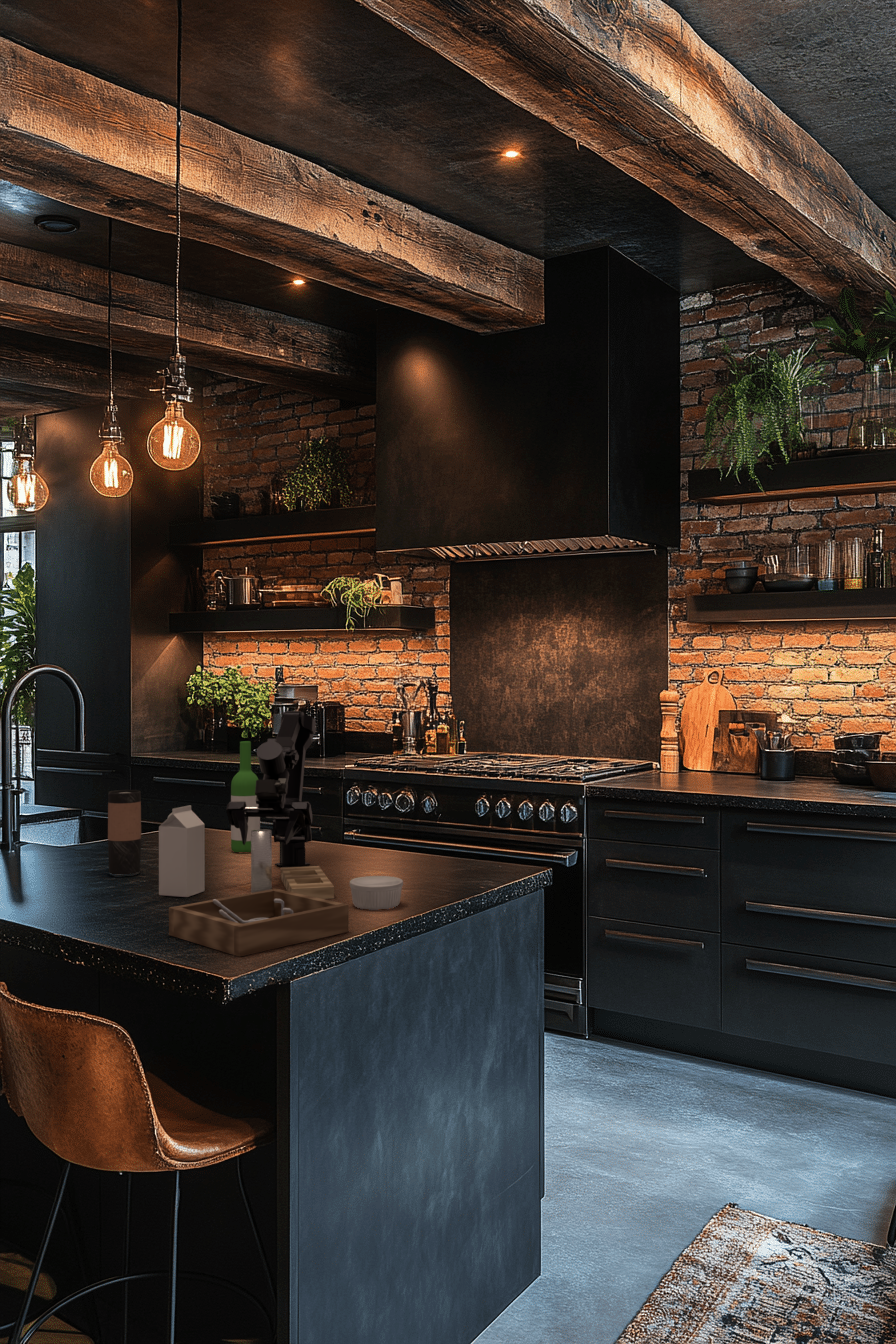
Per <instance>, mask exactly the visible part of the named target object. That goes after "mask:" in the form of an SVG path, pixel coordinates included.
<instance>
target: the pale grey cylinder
mask: <svg viewBox="0 0 896 1344" xmlns="http://www.w3.org/2000/svg"><path fill="white" fill-rule="evenodd" d="M272 833H273V829H264V828H263V829H262V828H260V829H258V830H252V831H251V853H250V858H251V859H250V874H251V875H250V891H251V892H250V893H254V892H259V891H265V890H270V889H273V887H272V886H273V880H272V879H273V878H272V877H273V873H272V870H273V866H272V865H273V863H272V861H273V856H272V855H273V854H272V853H273V852H272V851H273V849H272V846H273V844H272V842H273V841H272V840H273V838H272Z"/></svg>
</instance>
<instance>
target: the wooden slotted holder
mask: <svg viewBox="0 0 896 1344" xmlns="http://www.w3.org/2000/svg"><path fill="white" fill-rule="evenodd" d="M280 880H281V882H282V884H283V886H284V888H285V891H289V892H293V893H298V894H302V895H307V896H311V897H316V898H320V899H325V900H330V899H335V886H334V884H333V883H332V882H331V880H330V879H329V878H328V877H327V875H326V874H325V872H324V871H323V869H321V867H320V865H314V866H313V865H307V866H301V867H280Z"/></svg>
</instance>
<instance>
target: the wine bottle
mask: <svg viewBox="0 0 896 1344" xmlns="http://www.w3.org/2000/svg"><path fill="white" fill-rule="evenodd" d="M256 780H260V779H259V778H258V776H257V774H256V773H254V771H253V770H252V742H251V741H250V740H245V741H239V770H238V772H237V773H236V774H235V775H234V776H233V778H232V780H231V784H230V802H246V806H247V807H258V804H256V797H257V796H256V795H255V788H256ZM247 824H248V832H247V839H246V843H245V845H243V842H242V837H241V831H240V829H239V828H236V827H235V826H232V825H231V824H230V846H231V847H230V848H231V851H232V852H233V851H234V852H233V853H235V852H251V831H252V830H258V829H261V817H248V823H247Z"/></svg>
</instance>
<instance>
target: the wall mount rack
mask: <svg viewBox="0 0 896 1344" xmlns="http://www.w3.org/2000/svg"><path fill="white" fill-rule="evenodd" d="M216 899H217V898H214V899H212V900H213V903H214V904H216V905H217V906H219V907H221V908H222V909H224V910H225V911H226V912H228V913H229V914H230V915H232V916H233V917H234V918H236V919H237V920H238V921H240V922H241V923H240V924H244V923H249V922H254V921H259V920H264V919H269V918H270V917H267V918H254V919H250V920H248V921H244V920H242V919H241V918H239V917H238V916H237V915H235V914H234V913H233V912H231V911H230V910H229V909H227V908H226V907H225V906H223V905H222V904H221V903H220V902H219V901H218V900H216ZM274 902H275V903H281V916H284V912H290V914H293V910H291V909H290V908H284V901H283V900H281V899H274ZM226 912H224V911H223V910H219V913H220V914H221V915H222V916H224V917H226V918H227V919H229V920H230V921H233V922H237V921H235V920H234V919H233V918H231V917H230V916H229V915H228V914H227V913H226ZM237 923H238V922H237Z"/></svg>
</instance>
